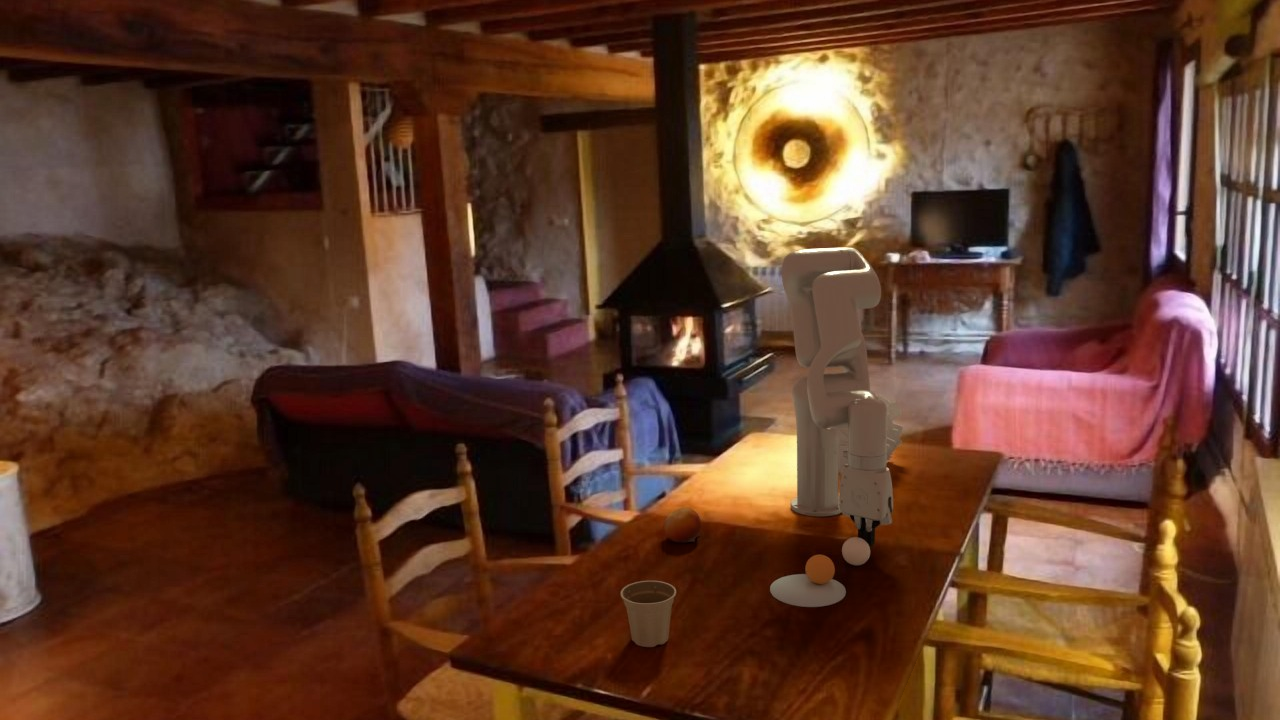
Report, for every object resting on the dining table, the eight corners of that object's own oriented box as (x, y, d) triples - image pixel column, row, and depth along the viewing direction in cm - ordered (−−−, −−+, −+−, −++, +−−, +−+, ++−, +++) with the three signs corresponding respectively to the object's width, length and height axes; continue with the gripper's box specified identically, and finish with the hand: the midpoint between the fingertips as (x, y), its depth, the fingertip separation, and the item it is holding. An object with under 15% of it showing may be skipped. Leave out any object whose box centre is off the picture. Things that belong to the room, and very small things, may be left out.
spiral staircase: (837, 494, 243) (857, 462, 265) (901, 472, 234) (917, 440, 256) (805, 430, 242) (829, 403, 264) (869, 406, 234) (887, 379, 256)
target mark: (776, 572, 187) (776, 571, 187) (849, 578, 183) (849, 577, 183) (764, 602, 174) (764, 601, 174) (842, 610, 170) (842, 609, 170)
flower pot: (620, 628, 167) (618, 582, 165) (674, 624, 167) (672, 578, 166) (624, 654, 158) (622, 605, 156) (681, 650, 158) (679, 601, 157)
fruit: (707, 540, 201) (686, 509, 201) (676, 557, 203) (655, 526, 203) (711, 526, 209) (692, 496, 208) (681, 543, 211) (662, 513, 210)
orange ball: (805, 548, 184) (795, 575, 182) (823, 550, 179) (813, 577, 177) (826, 561, 186) (816, 587, 184) (844, 563, 181) (834, 590, 179)
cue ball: (839, 533, 190) (833, 558, 190) (859, 543, 185) (852, 570, 186) (859, 532, 193) (853, 558, 193) (879, 543, 188) (872, 569, 189)
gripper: (824, 458, 193) (824, 544, 197) (892, 471, 183) (890, 561, 187) (843, 450, 199) (843, 533, 202) (910, 462, 189) (908, 549, 192)
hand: (866, 546), depth 194 cm, fingers closed
